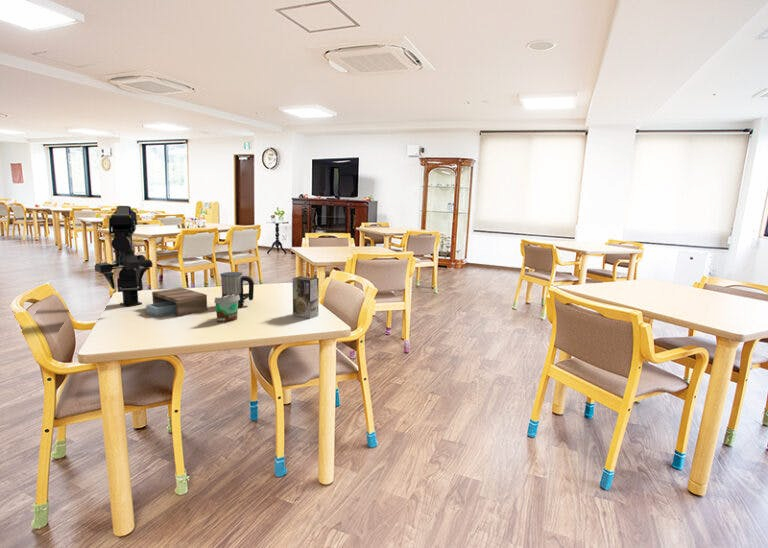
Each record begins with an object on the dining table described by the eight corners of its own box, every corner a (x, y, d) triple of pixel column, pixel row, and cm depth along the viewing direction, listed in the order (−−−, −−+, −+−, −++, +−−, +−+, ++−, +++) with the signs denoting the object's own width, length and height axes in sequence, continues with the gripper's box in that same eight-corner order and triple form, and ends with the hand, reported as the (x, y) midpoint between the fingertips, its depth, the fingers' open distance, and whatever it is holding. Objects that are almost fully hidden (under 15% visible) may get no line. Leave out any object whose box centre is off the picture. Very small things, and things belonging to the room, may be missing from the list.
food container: (229, 324, 161) (228, 299, 159) (215, 323, 162) (214, 298, 160) (246, 316, 173) (245, 292, 171) (232, 314, 174) (232, 291, 172)
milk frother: (223, 309, 181) (222, 275, 178) (215, 301, 194) (214, 269, 191) (257, 306, 189) (256, 273, 186) (247, 298, 202) (246, 268, 199)
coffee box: (319, 315, 178) (319, 277, 175) (310, 319, 173) (310, 280, 170) (301, 312, 182) (301, 275, 179) (292, 315, 176) (291, 277, 173)
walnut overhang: (153, 307, 180) (152, 291, 178) (181, 302, 190) (180, 287, 189) (178, 316, 168) (177, 299, 167) (207, 310, 179) (206, 294, 177)
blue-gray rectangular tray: (146, 313, 172) (146, 304, 171) (184, 305, 185) (184, 298, 184) (156, 317, 167) (156, 308, 167) (194, 309, 180) (194, 301, 179)
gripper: (105, 252, 150) (109, 295, 153) (158, 248, 165) (160, 286, 168) (92, 248, 157) (96, 289, 160) (144, 244, 172) (146, 282, 175)
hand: (126, 287), depth 165 cm, fingers open, 9 cm apart
